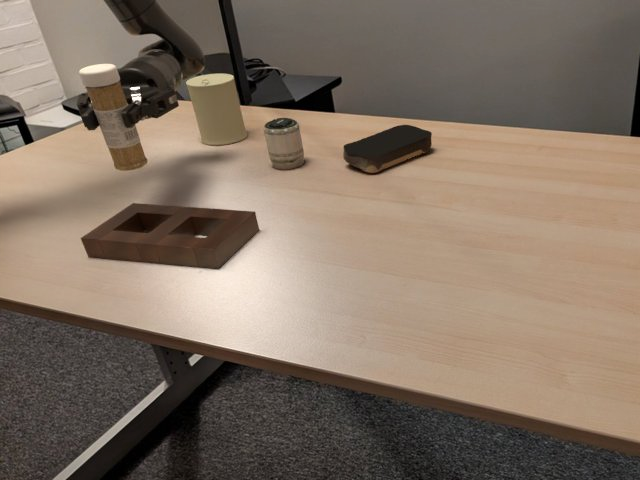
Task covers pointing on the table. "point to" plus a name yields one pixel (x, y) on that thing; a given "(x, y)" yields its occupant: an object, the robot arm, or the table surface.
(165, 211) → the socket block
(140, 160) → the sprinkles bottle
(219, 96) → the can
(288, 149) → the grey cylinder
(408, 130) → the black sponge
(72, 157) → the table surface
